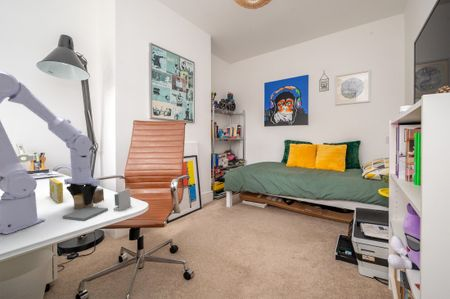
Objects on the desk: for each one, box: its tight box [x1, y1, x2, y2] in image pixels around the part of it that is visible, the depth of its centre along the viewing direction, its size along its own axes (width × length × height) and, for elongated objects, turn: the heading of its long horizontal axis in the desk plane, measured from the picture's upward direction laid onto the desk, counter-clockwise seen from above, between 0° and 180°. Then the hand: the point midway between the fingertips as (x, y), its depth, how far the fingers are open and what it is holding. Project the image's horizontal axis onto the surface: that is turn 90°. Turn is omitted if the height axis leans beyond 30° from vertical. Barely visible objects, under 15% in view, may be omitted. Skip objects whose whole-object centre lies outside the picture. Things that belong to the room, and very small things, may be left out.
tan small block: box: [73, 193, 94, 211], centre depth 75 cm, size 4×4×5 cm
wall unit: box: [113, 187, 132, 212], centre depth 73 cm, size 5×3×7 cm, turn 165°
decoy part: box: [92, 187, 105, 204], centre depth 82 cm, size 4×4×5 cm
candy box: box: [48, 178, 64, 204], centre depth 86 cm, size 16×2×8 cm, turn 50°
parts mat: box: [62, 206, 109, 222], centre depth 68 cm, size 9×9×1 cm
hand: (83, 203), depth 75 cm, fingers closed on tan small block, 4 cm apart
